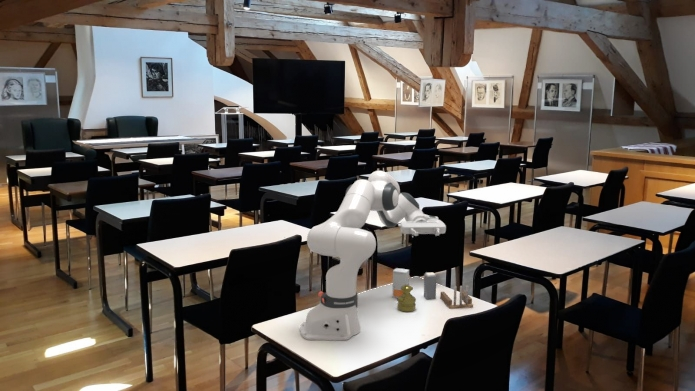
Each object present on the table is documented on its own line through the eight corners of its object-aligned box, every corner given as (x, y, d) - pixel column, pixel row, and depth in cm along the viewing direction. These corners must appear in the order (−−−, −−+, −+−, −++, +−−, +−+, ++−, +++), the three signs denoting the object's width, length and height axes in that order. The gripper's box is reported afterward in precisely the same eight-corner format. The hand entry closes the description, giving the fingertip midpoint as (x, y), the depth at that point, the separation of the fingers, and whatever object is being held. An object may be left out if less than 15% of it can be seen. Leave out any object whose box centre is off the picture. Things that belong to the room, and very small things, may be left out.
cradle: (449, 309, 229) (450, 287, 228) (440, 298, 241) (440, 278, 239) (473, 307, 231) (474, 286, 229) (462, 297, 242) (463, 276, 240)
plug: (426, 299, 240) (427, 275, 238) (423, 296, 243) (424, 272, 241) (435, 299, 240) (436, 275, 238) (432, 295, 244) (433, 271, 242)
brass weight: (414, 312, 226) (415, 289, 224) (396, 311, 227) (396, 287, 225) (416, 306, 233) (417, 282, 231) (398, 304, 234) (398, 281, 232)
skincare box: (392, 297, 242) (392, 270, 240) (395, 294, 246) (395, 267, 244) (405, 299, 240) (406, 272, 237) (408, 296, 243) (409, 269, 241)
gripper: (397, 216, 258) (404, 227, 245) (441, 216, 261) (450, 227, 248) (396, 229, 260) (403, 241, 247) (439, 229, 263) (448, 240, 250)
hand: (427, 234), depth 248 cm, fingers open, 8 cm apart
